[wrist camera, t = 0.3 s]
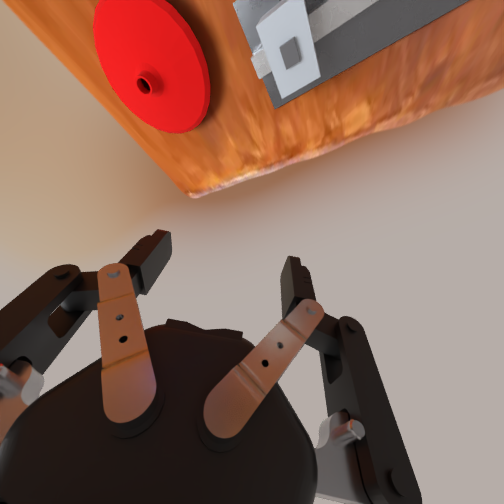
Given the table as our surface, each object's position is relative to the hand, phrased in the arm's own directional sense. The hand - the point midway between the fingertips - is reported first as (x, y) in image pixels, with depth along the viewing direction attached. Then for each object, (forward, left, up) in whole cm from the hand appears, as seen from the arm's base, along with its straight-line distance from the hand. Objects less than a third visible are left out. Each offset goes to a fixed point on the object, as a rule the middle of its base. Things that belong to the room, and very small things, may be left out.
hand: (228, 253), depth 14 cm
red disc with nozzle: (-9, -13, -31) cm, 34 cm away
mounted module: (-3, +5, -29) cm, 30 cm away
